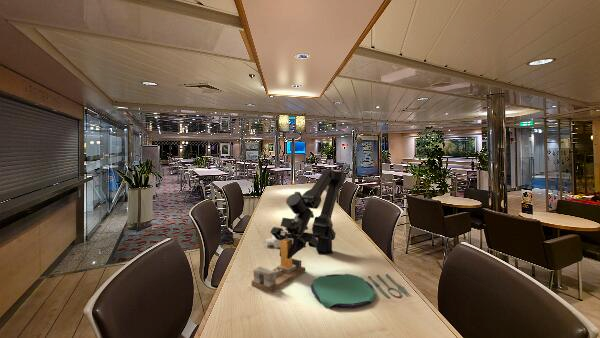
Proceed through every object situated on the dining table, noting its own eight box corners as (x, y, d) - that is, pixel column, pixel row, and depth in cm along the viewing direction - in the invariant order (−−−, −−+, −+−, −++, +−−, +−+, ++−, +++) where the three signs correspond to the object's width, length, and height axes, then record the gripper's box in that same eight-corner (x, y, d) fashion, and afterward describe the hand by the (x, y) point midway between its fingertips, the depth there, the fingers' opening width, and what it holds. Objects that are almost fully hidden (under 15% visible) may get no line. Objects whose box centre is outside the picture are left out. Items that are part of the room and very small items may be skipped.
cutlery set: (305, 281, 94) (305, 275, 94) (386, 275, 99) (386, 269, 99) (319, 315, 75) (319, 306, 74) (419, 305, 80) (419, 297, 80)
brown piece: (286, 266, 107) (285, 252, 107) (305, 271, 102) (305, 256, 102) (251, 285, 91) (251, 268, 91) (272, 292, 86) (271, 275, 86)
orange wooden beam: (285, 265, 103) (285, 237, 103) (296, 268, 101) (295, 239, 100) (265, 276, 94) (264, 245, 94) (276, 280, 91) (276, 248, 91)
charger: (261, 244, 136) (290, 241, 139) (263, 250, 127) (294, 247, 130) (260, 234, 135) (290, 232, 139) (262, 240, 126) (294, 237, 130)
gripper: (273, 206, 107) (253, 241, 99) (313, 211, 97) (296, 251, 88) (285, 222, 114) (268, 256, 106) (324, 228, 104) (309, 267, 95)
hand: (284, 257), depth 99 cm, fingers closed on orange wooden beam, 3 cm apart
